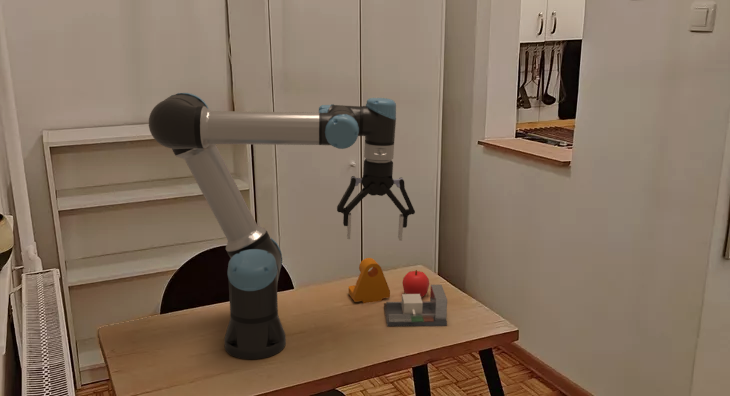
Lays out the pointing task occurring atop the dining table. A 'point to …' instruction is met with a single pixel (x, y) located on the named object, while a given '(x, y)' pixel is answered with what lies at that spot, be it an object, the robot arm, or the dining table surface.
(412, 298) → the cream block with peg
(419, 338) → the dining table surface
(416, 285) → the apple
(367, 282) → the bracket
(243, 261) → the robot arm
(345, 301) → the dining table surface
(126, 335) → the dining table surface
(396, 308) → the gauge base
